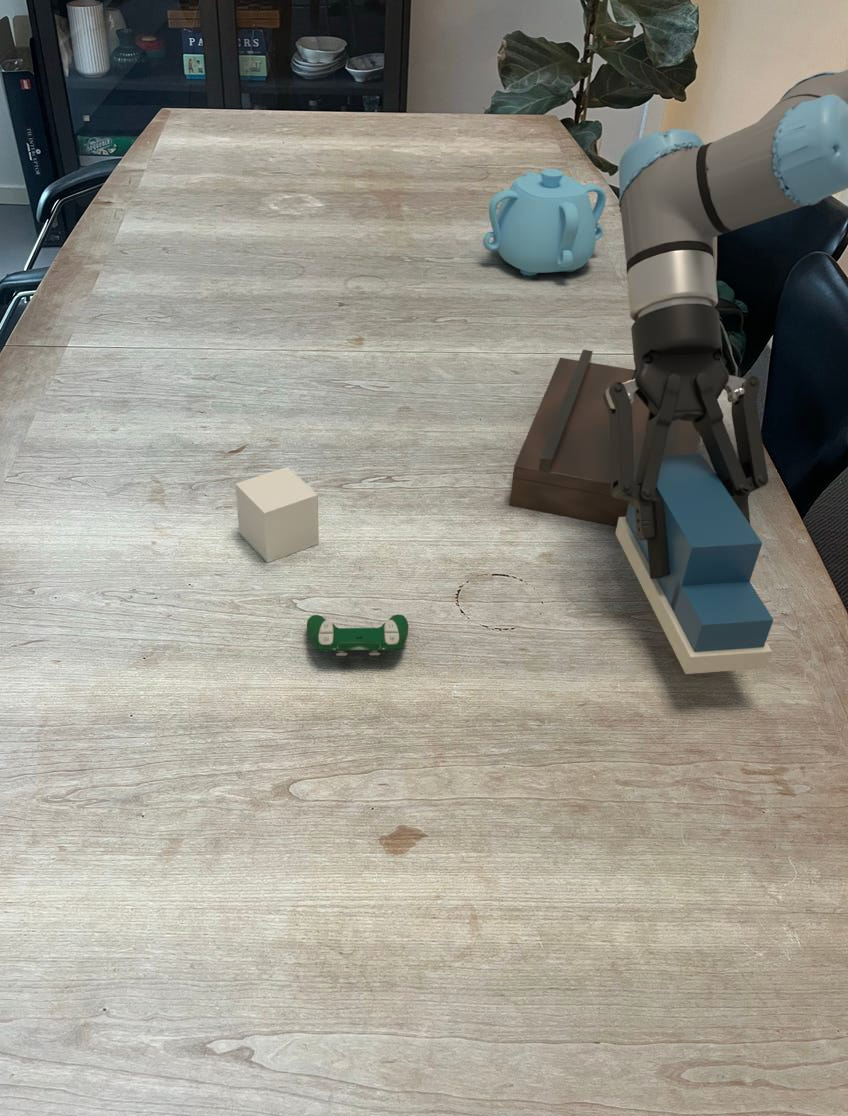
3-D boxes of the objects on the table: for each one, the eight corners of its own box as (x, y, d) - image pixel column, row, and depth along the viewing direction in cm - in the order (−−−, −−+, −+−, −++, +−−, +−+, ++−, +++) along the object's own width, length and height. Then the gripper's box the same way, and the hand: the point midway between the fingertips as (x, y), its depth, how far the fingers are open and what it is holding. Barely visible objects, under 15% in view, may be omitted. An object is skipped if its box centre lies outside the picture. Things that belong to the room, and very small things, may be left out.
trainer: (614, 533, 101) (631, 453, 95) (684, 529, 101) (705, 449, 95) (685, 674, 86) (710, 590, 80) (765, 668, 86) (796, 584, 80)
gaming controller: (307, 656, 95) (305, 655, 89) (307, 615, 96) (305, 611, 90) (406, 655, 96) (412, 654, 90) (406, 614, 96) (411, 610, 90)
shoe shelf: (700, 419, 126) (713, 370, 121) (678, 538, 107) (693, 486, 103) (554, 394, 130) (561, 345, 125) (508, 505, 111) (515, 452, 107)
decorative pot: (467, 265, 160) (475, 173, 151) (520, 234, 170) (530, 146, 160) (560, 293, 153) (574, 198, 144) (610, 259, 162) (626, 168, 153)
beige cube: (267, 563, 103) (264, 513, 99) (239, 533, 107) (234, 483, 103) (319, 543, 105) (318, 494, 101) (289, 515, 109) (287, 466, 105)
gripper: (757, 326, 96) (780, 573, 95) (557, 334, 95) (579, 585, 93) (797, 295, 89) (823, 562, 88) (582, 303, 87) (605, 575, 86)
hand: (697, 573), depth 90 cm, fingers closed on trainer, 6 cm apart
